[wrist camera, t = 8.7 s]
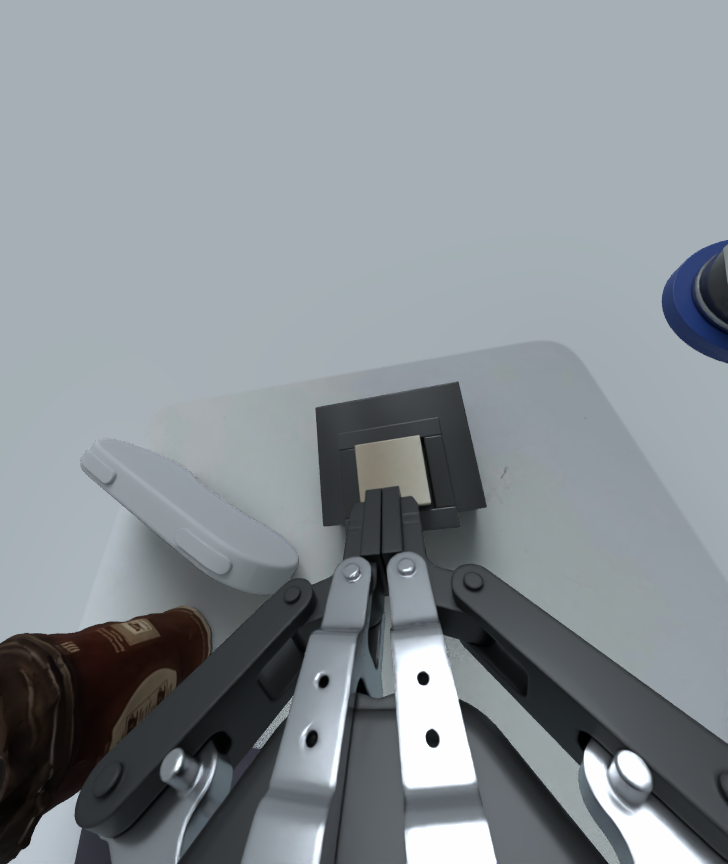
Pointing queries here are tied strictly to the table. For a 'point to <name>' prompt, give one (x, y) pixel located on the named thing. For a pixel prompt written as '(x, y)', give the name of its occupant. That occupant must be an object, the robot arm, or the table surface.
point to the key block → (391, 419)
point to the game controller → (192, 517)
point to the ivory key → (393, 467)
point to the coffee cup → (81, 705)
